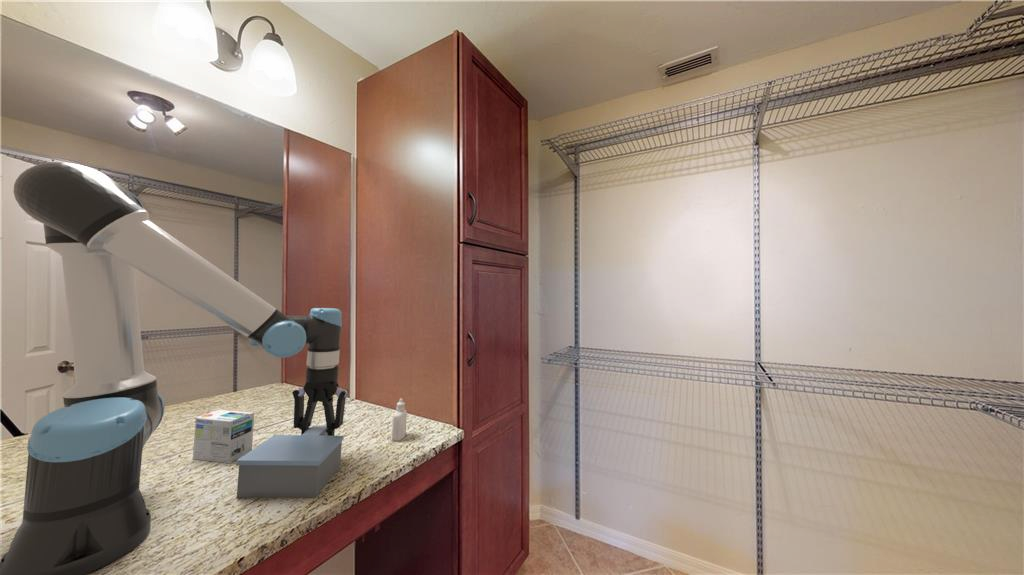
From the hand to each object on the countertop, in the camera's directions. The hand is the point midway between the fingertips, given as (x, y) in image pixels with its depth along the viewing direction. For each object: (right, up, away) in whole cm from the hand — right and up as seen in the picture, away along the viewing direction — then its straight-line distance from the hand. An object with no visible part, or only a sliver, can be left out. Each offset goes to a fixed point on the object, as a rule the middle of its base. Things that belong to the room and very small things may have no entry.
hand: (316, 454), depth 86 cm
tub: (+1, -1, -11) cm, 11 cm away
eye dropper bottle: (+17, -3, +15) cm, 22 cm away
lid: (+1, +5, -8) cm, 9 cm away
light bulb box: (-24, 0, -1) cm, 24 cm away
